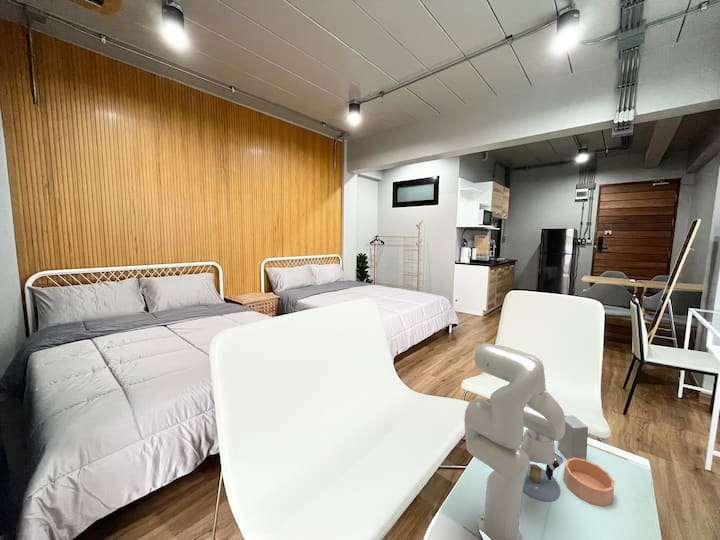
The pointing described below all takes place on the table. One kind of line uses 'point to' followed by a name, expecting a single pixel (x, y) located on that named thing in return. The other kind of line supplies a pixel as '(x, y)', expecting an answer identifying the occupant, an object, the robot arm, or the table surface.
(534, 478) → the lid
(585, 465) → the bowl
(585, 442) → the skincare box
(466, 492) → the table surface
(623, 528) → the table surface
